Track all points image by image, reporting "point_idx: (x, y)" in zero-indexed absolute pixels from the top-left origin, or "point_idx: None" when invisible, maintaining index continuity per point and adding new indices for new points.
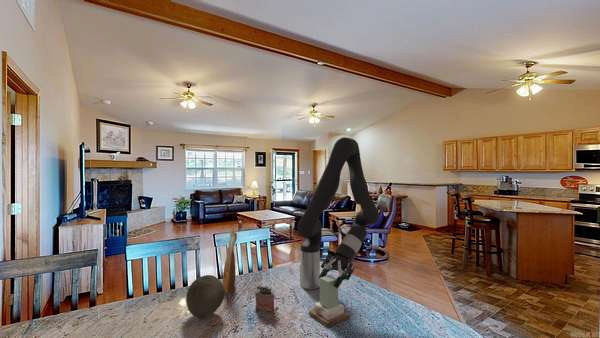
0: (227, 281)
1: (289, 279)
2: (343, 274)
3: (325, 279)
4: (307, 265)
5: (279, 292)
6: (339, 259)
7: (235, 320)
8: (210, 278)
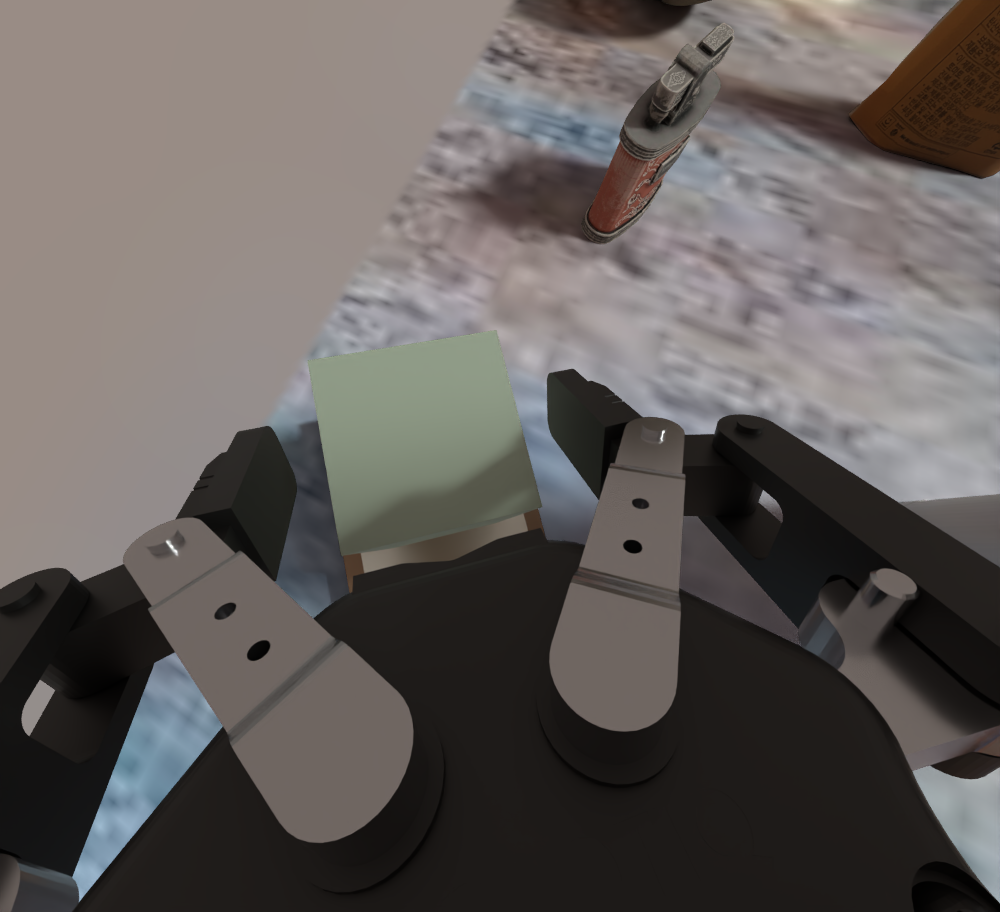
0: (930, 48)
1: (992, 478)
2: (115, 609)
3: (410, 371)
4: None
5: (816, 349)
6: (526, 884)
7: (583, 77)
8: None
